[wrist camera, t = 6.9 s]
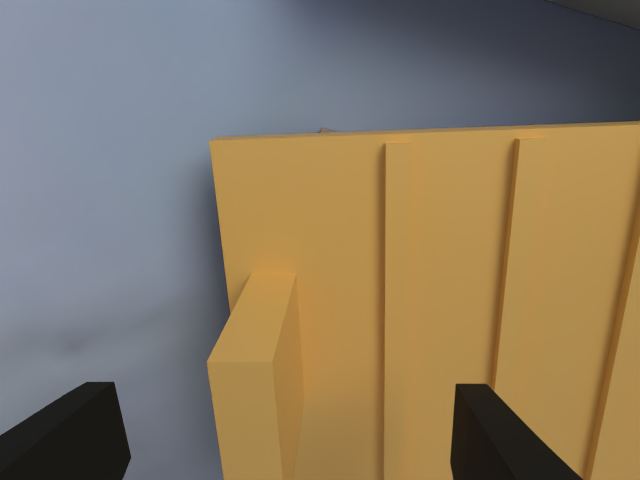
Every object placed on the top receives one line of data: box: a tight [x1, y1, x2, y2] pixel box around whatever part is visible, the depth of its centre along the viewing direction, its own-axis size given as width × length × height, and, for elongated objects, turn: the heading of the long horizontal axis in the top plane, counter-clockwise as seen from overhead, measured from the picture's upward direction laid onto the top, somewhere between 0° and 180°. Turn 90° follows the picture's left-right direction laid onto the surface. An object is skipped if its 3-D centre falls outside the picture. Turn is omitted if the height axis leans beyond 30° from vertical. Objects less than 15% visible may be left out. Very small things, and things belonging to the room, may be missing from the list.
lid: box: [207, 121, 640, 480], centre depth 11 cm, size 15×11×6 cm
